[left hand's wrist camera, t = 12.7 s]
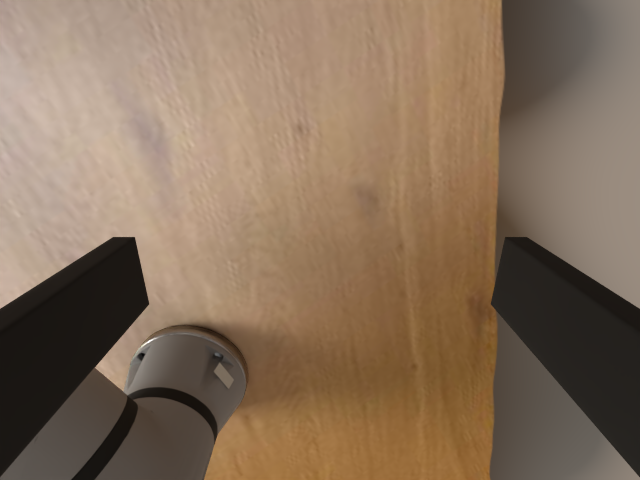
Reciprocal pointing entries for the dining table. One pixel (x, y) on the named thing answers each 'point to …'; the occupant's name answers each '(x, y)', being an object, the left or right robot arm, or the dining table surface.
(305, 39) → the dining table surface
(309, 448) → the dining table surface
